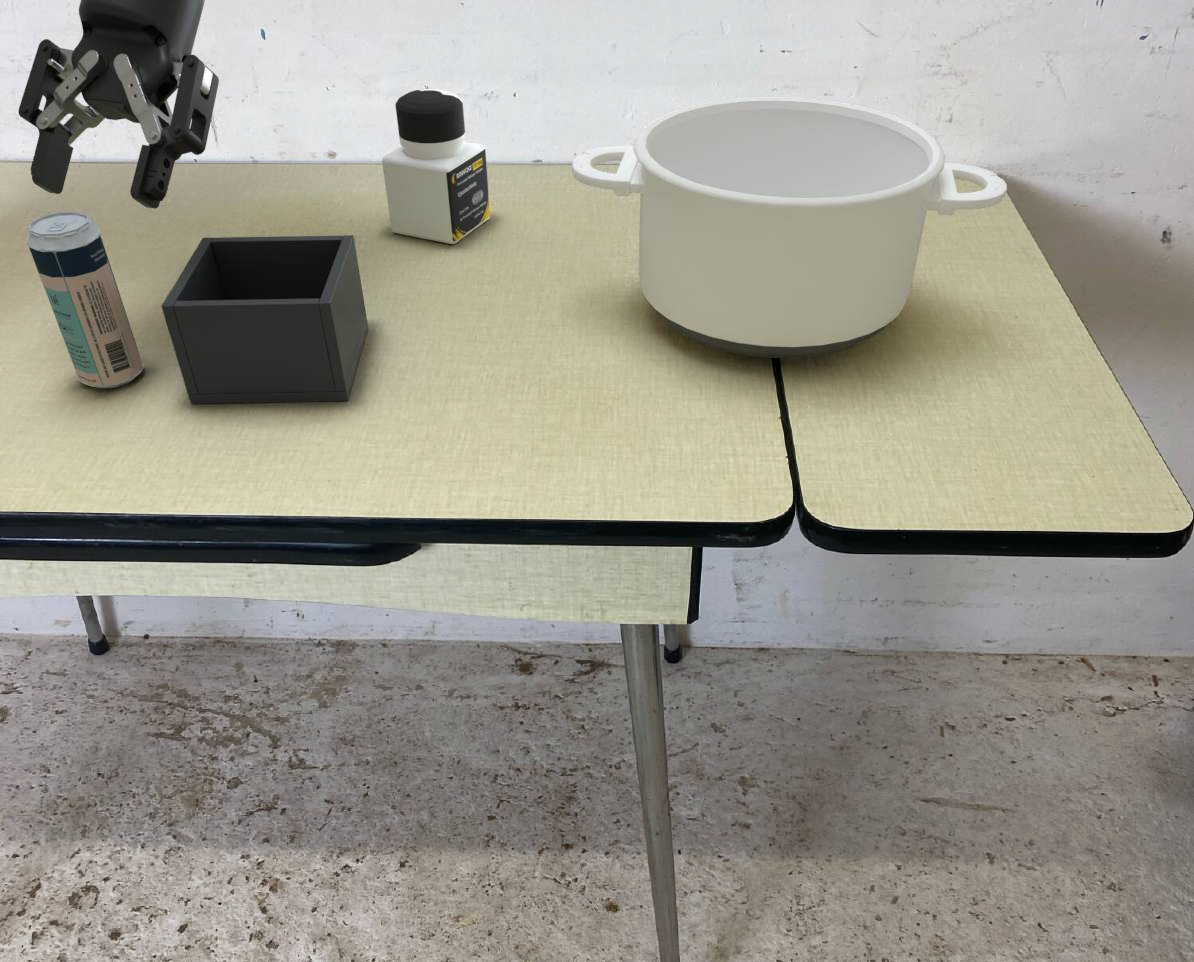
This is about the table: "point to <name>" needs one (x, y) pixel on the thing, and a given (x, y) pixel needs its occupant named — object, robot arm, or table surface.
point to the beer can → (85, 298)
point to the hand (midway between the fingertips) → (93, 196)
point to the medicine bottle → (435, 170)
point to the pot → (783, 218)
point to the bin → (268, 319)
